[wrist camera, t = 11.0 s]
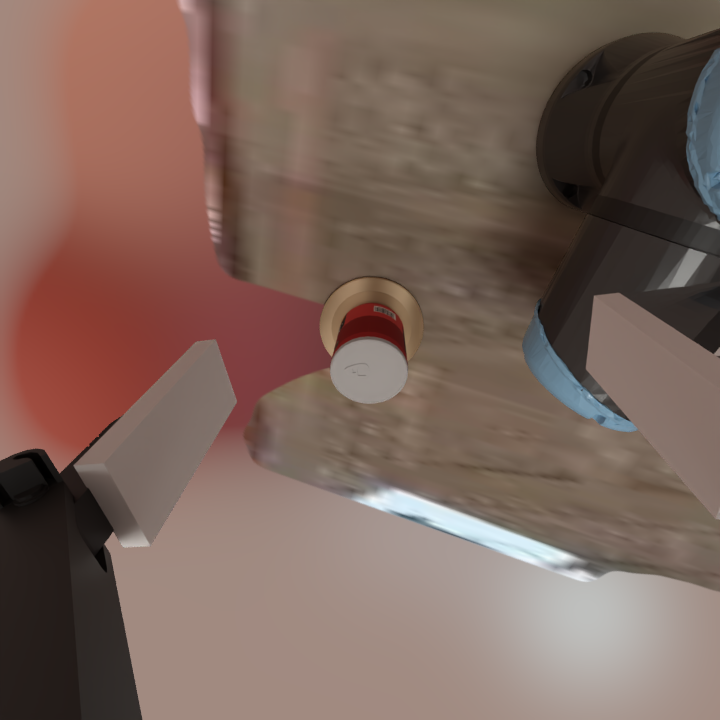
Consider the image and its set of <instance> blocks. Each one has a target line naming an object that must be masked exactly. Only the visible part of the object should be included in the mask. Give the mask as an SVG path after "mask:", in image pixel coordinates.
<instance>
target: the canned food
mask: <svg viewBox="0 0 720 720" xmlns="http://www.w3.org/2000/svg"><path fill="white" fill-rule="evenodd" d="M330 374H331V379H332V381H333V384H334V385H335V387H336V388H337V390H338V391H339V392H340V393H341V394H343V395H344V396H345V397H347V398H349V399H351V400H353V401H356V402H360V403H368V404H372V403H379V402H384V401H386V400H388V399H391V398H392V397H394V396H395V395H396V394H398V393H399V392H400V391H401V389H402V388H403V386H404V385H405V382H406V380H407V374H408V362H407V353H406V344H405V335H404V327H403V324H402V321H401V319H400V318H399V316H398V315H397V314H396V313H395V312H394V311H393V310H391V309H390V308H389V307H387V306H385V305H382V304H378V303H365V304H362V305H359V306H357V307H355V308H353V309H351V310H350V311H349V312H348V313H347V314H346V315H345V316H344V318H343V320H342V321H341V324H340V328H339V332H338V336H337V340H336V344H335V348H334V352H333V355H332V360H331V367H330Z"/></svg>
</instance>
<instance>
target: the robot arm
mask: <svg viewBox="0 0 720 720" xmlns="http://www.w3.org/2000/svg"><path fill="white" fill-rule="evenodd" d="M536 148H537V162H538V167H539V171H540V174H541V177H542V179H543V181H544V183H545V185H546V187H547V188H548V190H549V191H550V192H551V193H552V194H553V195H554V197H555V198H557V199H558V200H559V201H560V202H562V203H563V204H565V205H567V206H569V207H571V208H573V209H576V210H579V211H582V212H585V213H587V215H586V217H585V219H584V221H583V223H582V224H581V226H580V228H579V230H578V232H577V234H576V236H575V238H574V239H573V241H572V243H571V245H570V247H569V249H568V251H567V252H566V254H565V256H564V258H563V260H562V262H561V264H560V265H559V267H558V269H557V271H556V273H555V275H554V277H553V278H552V280H551V282H550V284H549V286H548V288H547V290H546V291H545V293H544V295H543V297H542V298H541V299H540V300H539V301H538V302H537V304H536V306H535V310H534V316H533V318H532V321H531V323H530V325H529V327H528V329H527V331H526V333H525V336H524V338H523V345H522V347H523V352H524V354H525V355H524V357H525V361H526V363H527V365H528V367H529V368H530V370H531V372H532V373H533V374H534V376H535V377H536V378H537V380H538V381H539V382H540V383H541V384H542V385H543V386H544V387H545V388H546V389H547V390H548V391H549V392H550V393H551V394H552V395H554V396H555V397H556V398H557V399H558V400H560V401H561V402H562V403H563V404H565V405H566V406H567V407H569V408H570V409H572V410H573V411H575V412H576V413H578V414H580V415H581V416H583V417H585V418H587V419H589V418H593V419H595V420H596V421H597V422H598V423H599V424H600V425H601V426H604V427H607V428H609V429H612V430H617V431H624V432H632V431H636V430H639V431H640V432H641V434H642V435H643V436H644V437H645V438H646V439H647V440H648V442H649V443H650V444H651V445H652V446H653V447H654V449H655V450H656V451H657V452H658V453H659V454H660V455H661V457H662V458H663V459H664V460H665V461H666V462H667V464H668V465H669V466H670V467H671V468H672V469H673V471H674V472H675V473H676V474H677V475H678V476H679V477H680V479H681V480H682V481H683V482H684V483H685V484H686V486H687V487H688V488H689V489H690V490H691V491H692V492H693V494H694V495H695V496H696V497H697V498H698V499H699V501H700V502H701V503H702V504H703V505H704V506H705V507H706V509H707V510H708V511H709V512H710V513H711V514H712V516H713V517H714V518H715V519H720V28H719V29H716V30H713V31H710V32H707V33H705V34H702V35H699V36H696V37H693V38H690V39H687V40H686V39H683V38H680V37H678V36H675V35H671V34H666V33H641V34H635V35H631V36H627V37H625V38H622V39H619V40H617V41H615V42H612V43H610V44H608V45H605V46H603V47H601V48H599V49H597V50H596V51H594V52H593V53H591V54H590V55H588V56H587V57H585V58H584V59H583V60H581V61H580V62H579V63H578V64H577V65H576V66H575V67H574V68H573V69H572V70H571V71H570V72H569V73H568V74H567V75H566V76H565V77H564V78H563V80H562V81H561V82H560V84H559V85H558V87H557V88H556V89H555V91H554V93H553V94H552V96H551V98H550V100H549V102H548V104H547V106H546V108H545V110H544V113H543V116H542V119H541V122H540V126H539V130H538V136H537V147H536ZM591 214H592V215H591ZM236 403H237V400H236V398H235V395H234V392H233V389H232V386H231V383H230V380H229V377H228V374H227V372H226V368H225V365H224V363H223V360H222V357H221V354H220V351H219V348H218V345H217V342H216V340H207V341H198V342H196V343H194V344H193V345H192V346H191V347H190V348H189V349H188V351H187V352H185V353H184V354H183V355H182V356H181V357H180V359H179V360H178V361H177V362H176V363H175V364H174V365H173V366H172V367H171V368H170V369H169V370H168V371H167V372H166V373H165V374H164V375H163V376H162V377H161V378H160V379H159V380H158V381H157V382H156V383H155V384H154V385H153V386H152V387H151V388H150V389H149V390H148V391H147V392H146V393H145V394H144V395H143V396H142V397H141V398H140V399H139V400H138V401H137V402H136V403H135V404H134V405H133V406H132V407H131V408H130V409H129V410H128V411H127V412H126V413H125V414H124V415H123V416H121V417H119V418H118V419H116V420H115V421H113V422H112V423H111V424H109V425H108V426H107V427H106V428H105V429H104V430H103V431H102V432H101V433H100V434H99V437H96V438H95V439H94V440H93V441H92V442H91V443H90V446H89V447H86V448H85V449H84V450H83V451H82V452H81V453H80V454H79V455H78V456H77V457H76V458H75V459H74V460H73V461H72V462H71V463H70V464H69V465H68V466H67V467H66V468H65V469H64V470H63V471H62V472H61V473H60V474H59V472H58V471H57V469H56V468H55V466H54V464H53V463H52V461H51V460H50V458H49V457H48V455H47V453H46V452H45V450H42V449H31V450H26V451H23V452H20V453H17V454H14V455H12V456H10V457H8V458H6V459H3V460H1V461H0V720H142V716H141V710H140V705H139V700H138V695H137V690H136V685H135V679H134V674H133V669H132V664H131V659H130V654H129V648H128V643H127V638H126V633H125V628H124V622H123V618H122V613H121V607H120V602H119V597H118V591H117V587H116V581H115V576H114V571H113V565H112V560H111V555H110V553H109V551H108V549H107V548H106V546H105V545H104V543H105V542H106V540H107V539H108V538H109V537H110V535H111V534H112V532H114V533H115V535H116V536H117V538H118V540H119V541H120V543H121V545H122V546H123V547H139V546H140V547H142V546H151V544H152V543H153V541H154V539H155V538H156V536H157V534H158V533H159V531H160V529H161V528H162V526H163V524H164V523H165V521H166V519H167V517H168V516H169V514H170V513H171V511H172V509H173V508H174V506H175V504H176V503H177V501H178V499H179V498H180V496H181V494H182V493H183V491H184V489H185V488H186V486H187V484H188V483H189V481H190V479H191V478H192V476H193V474H194V473H195V471H196V469H197V468H198V466H199V464H200V463H201V461H202V459H203V458H204V456H205V454H206V453H207V451H208V449H209V448H210V446H211V444H212V443H213V441H214V440H215V438H216V436H217V435H218V433H219V431H220V429H221V428H222V426H223V425H224V423H225V421H226V419H227V418H228V416H229V415H230V413H231V411H232V409H233V408H234V406H235V405H236Z"/></svg>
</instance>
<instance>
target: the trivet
mask: <svg viewBox="0 0 720 720" xmlns="http://www.w3.org/2000/svg"><path fill="white" fill-rule="evenodd" d="M365 303H378V304H382V305H385V306H387V307H389V308H390V309H391V310H393V311H394V312H395V313H396V314H397V315H398V316H399V318H400V319H401V321H402V324H403V327H404V335H405V344H406V353H407V361H409V360H410V359H411V357H412V356H413V355H414V354H415V352H416V351H417V350H418V348H419V345H420V343H421V340H422V337H423V329H424V324H423V317H422V313H421V310H420V307H419V305H418V303H417V301H416V300H415V298H414V297H413V296H412V295H411V293H410V292H409V291H407V290H406V289H405V288H404V287H402V286H401V285H399V284H398V283H396V282H394V281H391V280H389V279H385V278H380V277H363V278H358V279H354V280H352V281H349V282H347V283H345V284H343V285H342V286H340V287H339V288H338V289H337V290H335V291H334V292H333V293H332V295H331V296H330V297H329V299H328V300H327V302H326V304H325V306H324V308H323V311H322V314H321V318H320V334H321V339H322V341H323V344H324V346H325V348H326V350H327V351H328V353H329V354H330V355H331V356H332V355H333V352H334V348H335V344H336V340H337V336H338V332H339V328H340V324H341V321H342V320H343V318H344V316H345V315H346V314H347V313H348V312H349V311H350V310H351V309H353V308H355V307H357V306H359V305H362V304H365Z"/></svg>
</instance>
